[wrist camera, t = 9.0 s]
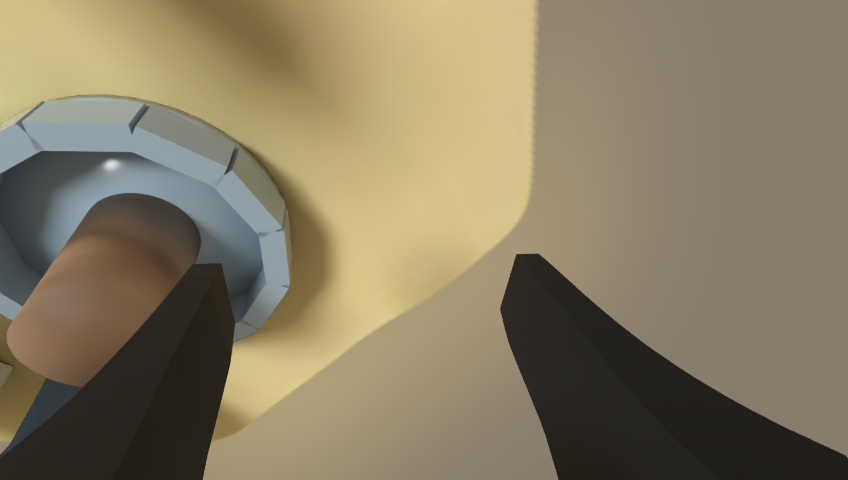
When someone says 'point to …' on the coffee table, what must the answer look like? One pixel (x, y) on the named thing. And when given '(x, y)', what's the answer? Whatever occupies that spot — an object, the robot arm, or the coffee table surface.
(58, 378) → the brown cylinder
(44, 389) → the vaping device
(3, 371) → the skincare box
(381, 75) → the coffee table surface
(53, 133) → the round tray
